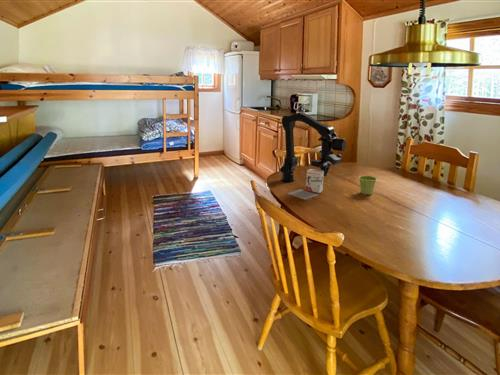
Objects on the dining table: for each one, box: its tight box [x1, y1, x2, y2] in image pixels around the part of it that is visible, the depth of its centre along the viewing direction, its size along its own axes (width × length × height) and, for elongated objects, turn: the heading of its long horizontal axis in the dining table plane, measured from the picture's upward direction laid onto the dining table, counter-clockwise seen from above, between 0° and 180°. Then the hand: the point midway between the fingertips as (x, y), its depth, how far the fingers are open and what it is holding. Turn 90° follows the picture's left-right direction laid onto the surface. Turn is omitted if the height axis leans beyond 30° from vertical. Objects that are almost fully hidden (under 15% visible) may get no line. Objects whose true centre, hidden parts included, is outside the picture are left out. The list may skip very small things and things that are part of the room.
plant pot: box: [358, 175, 378, 195], centre depth 199 cm, size 9×9×9 cm
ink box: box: [305, 168, 325, 194], centre depth 203 cm, size 9×5×12 cm, turn 62°
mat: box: [287, 188, 319, 201], centre depth 199 cm, size 13×11×1 cm
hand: (324, 176), depth 207 cm, fingers closed
